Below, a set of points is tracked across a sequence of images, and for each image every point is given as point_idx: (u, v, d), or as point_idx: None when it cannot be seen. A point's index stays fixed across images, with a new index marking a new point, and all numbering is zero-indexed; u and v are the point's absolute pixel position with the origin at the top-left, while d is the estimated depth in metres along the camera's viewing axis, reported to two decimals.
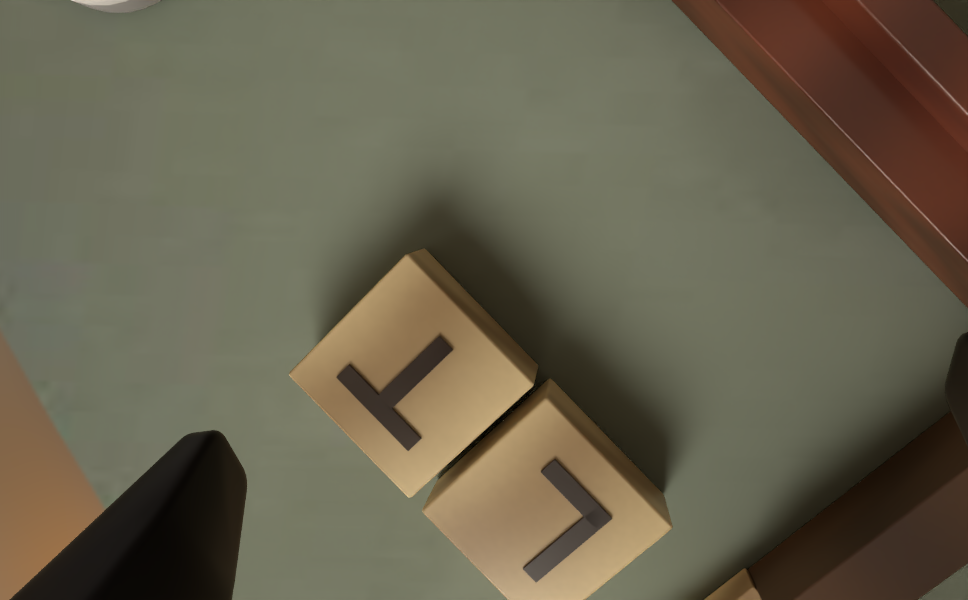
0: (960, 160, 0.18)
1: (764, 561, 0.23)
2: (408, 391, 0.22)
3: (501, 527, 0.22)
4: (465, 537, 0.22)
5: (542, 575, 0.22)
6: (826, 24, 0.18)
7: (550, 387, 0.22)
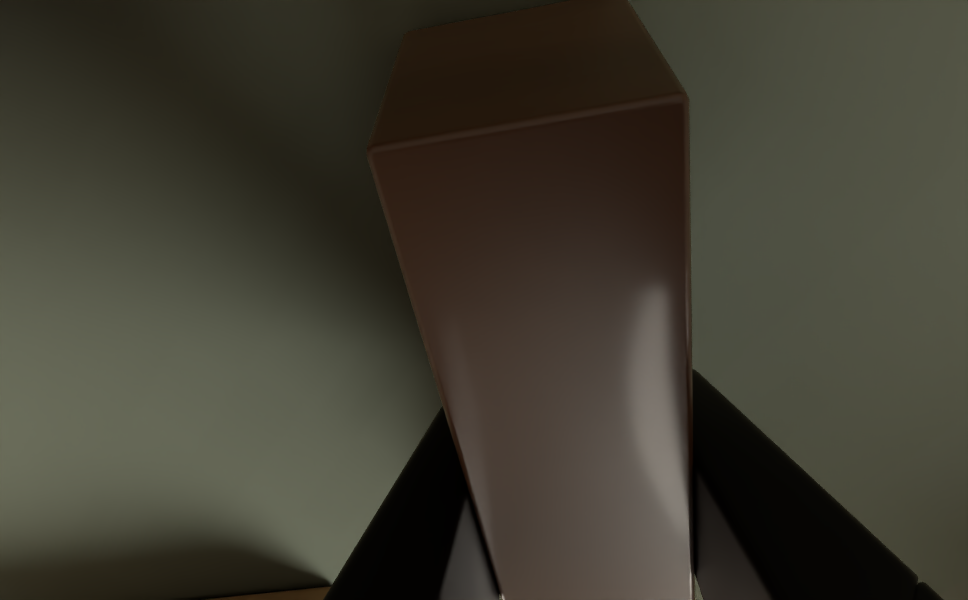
0: None
1: None
2: None
3: None
4: None
5: None
6: None
7: None
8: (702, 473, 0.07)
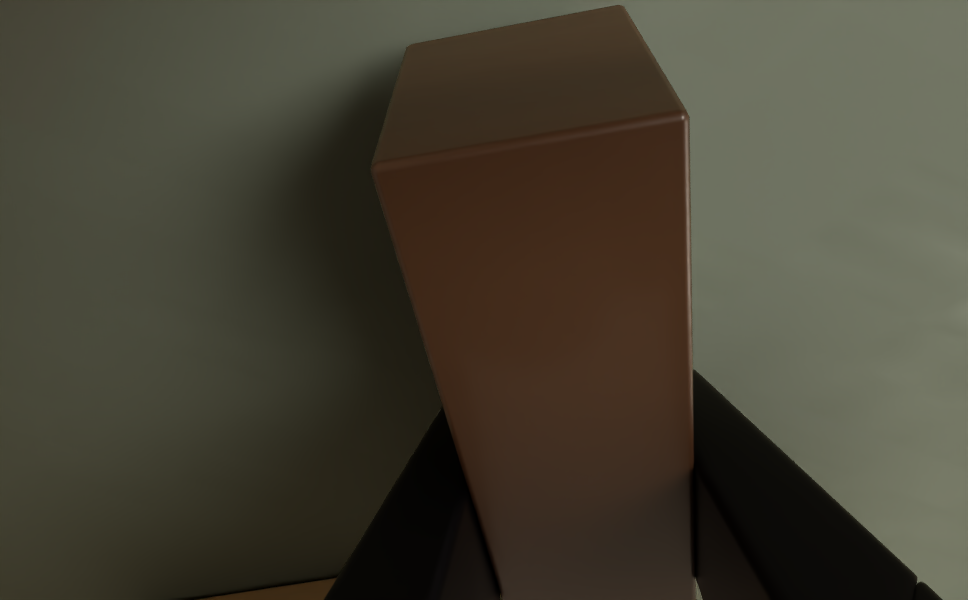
0: None
1: None
2: None
3: None
4: None
5: None
6: None
7: None
8: (701, 473, 0.07)
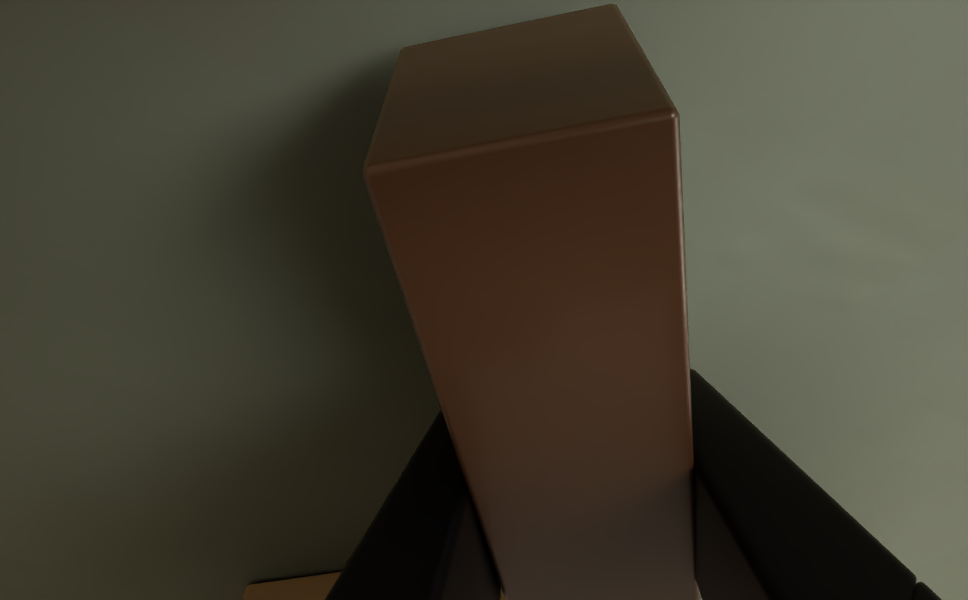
0: None
1: None
2: None
3: None
4: None
5: None
6: None
7: None
8: (700, 473, 0.07)
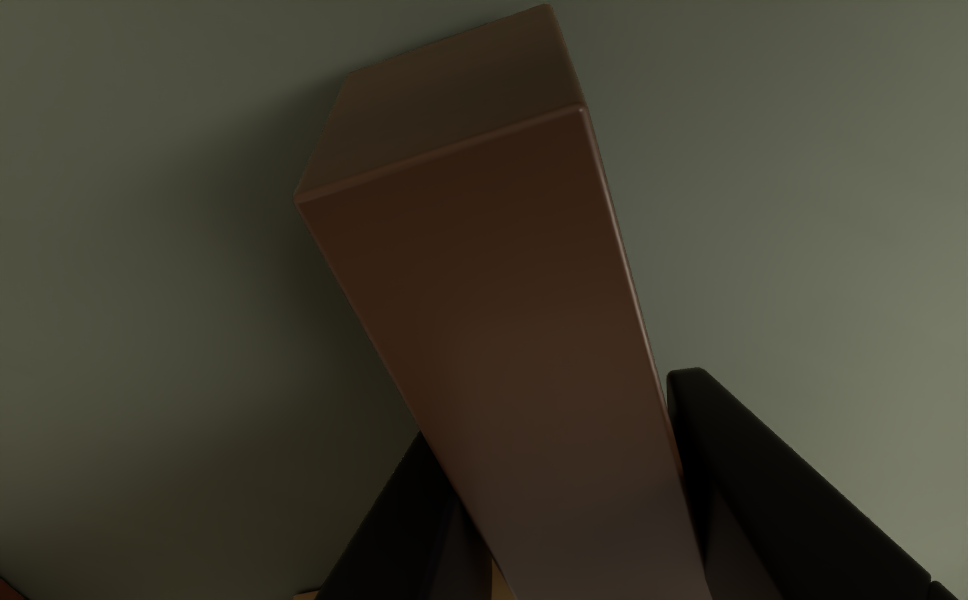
0: None
1: None
2: None
3: None
4: None
5: None
6: None
7: None
8: (712, 472, 0.07)
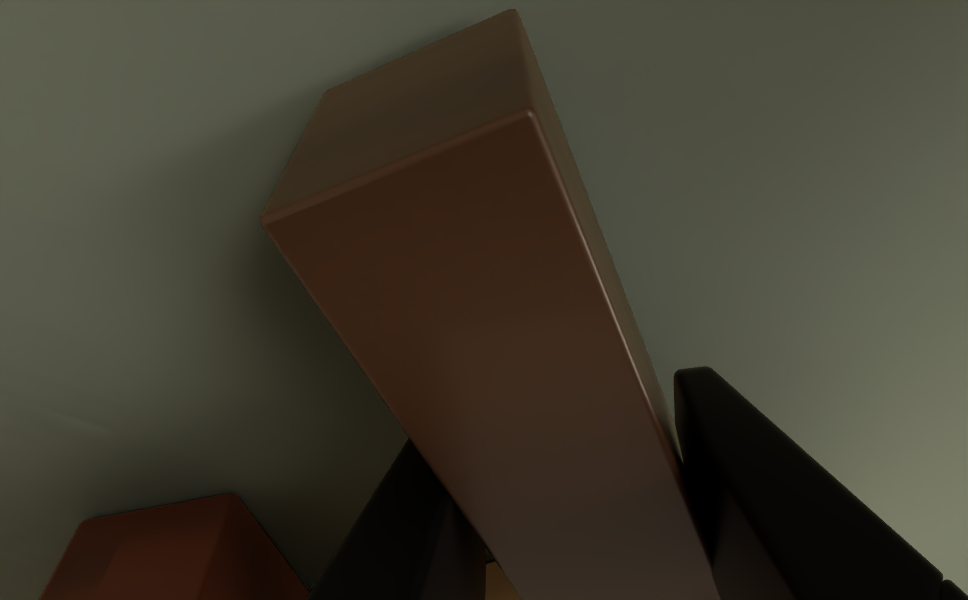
0: None
1: None
2: None
3: None
4: None
5: None
6: None
7: None
8: (721, 471, 0.07)
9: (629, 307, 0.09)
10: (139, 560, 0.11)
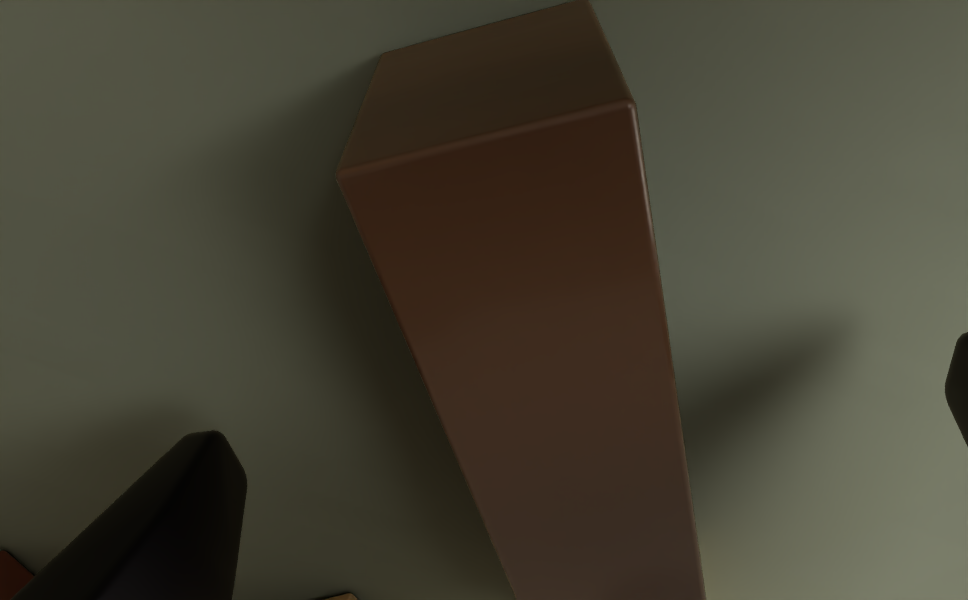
0: None
1: None
2: None
3: None
4: None
5: None
6: None
7: None
8: None
9: None
10: None
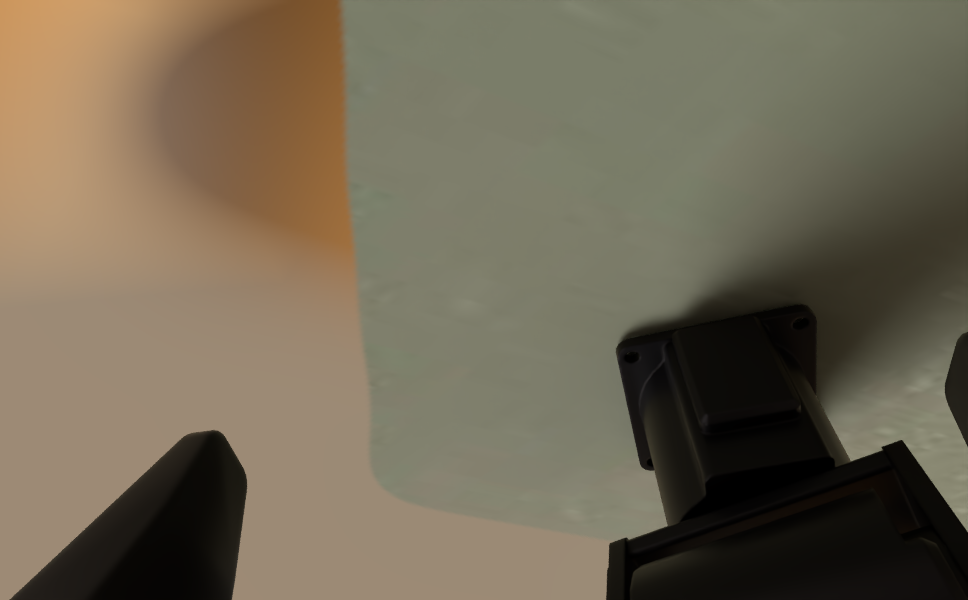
0: None
1: None
2: None
3: None
4: None
5: None
6: None
7: None
8: None
9: None
10: None
